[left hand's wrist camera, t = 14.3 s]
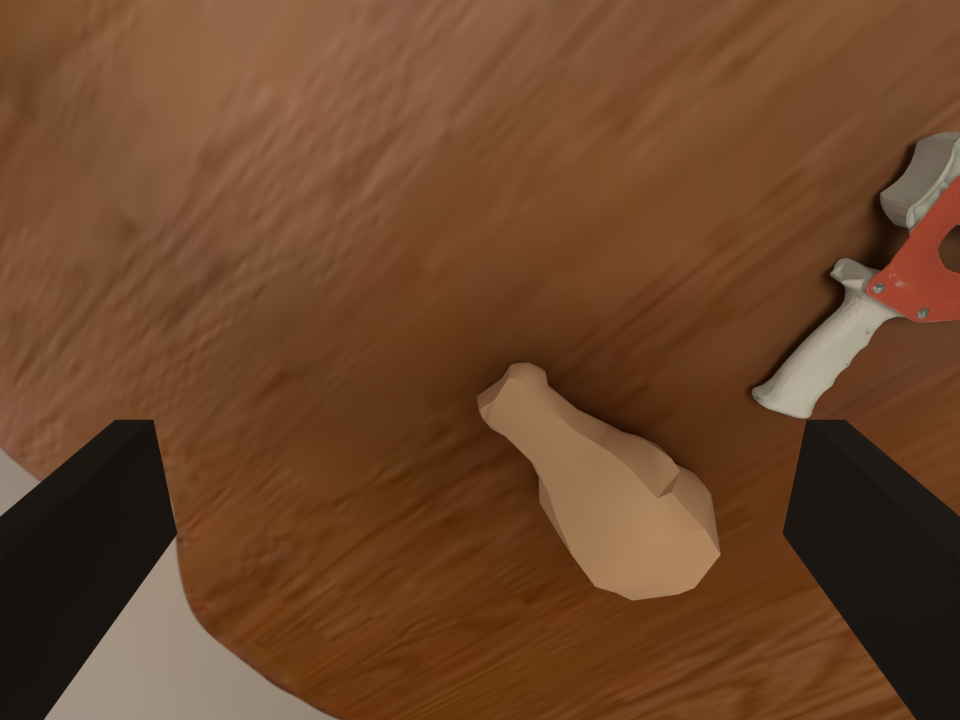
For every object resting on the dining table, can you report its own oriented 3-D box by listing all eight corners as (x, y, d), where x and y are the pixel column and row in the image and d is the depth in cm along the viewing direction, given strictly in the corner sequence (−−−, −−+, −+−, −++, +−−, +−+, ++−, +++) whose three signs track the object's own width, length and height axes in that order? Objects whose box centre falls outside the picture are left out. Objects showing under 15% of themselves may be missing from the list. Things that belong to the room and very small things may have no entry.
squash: (631, 566, 52) (631, 654, 44) (454, 403, 50) (420, 465, 41) (740, 496, 47) (763, 581, 39) (551, 313, 45) (534, 363, 37)
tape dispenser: (741, 402, 48) (1031, 352, 45) (766, 440, 43) (1092, 386, 40) (723, 169, 41) (1065, 91, 38) (751, 182, 36) (1144, 95, 33)
